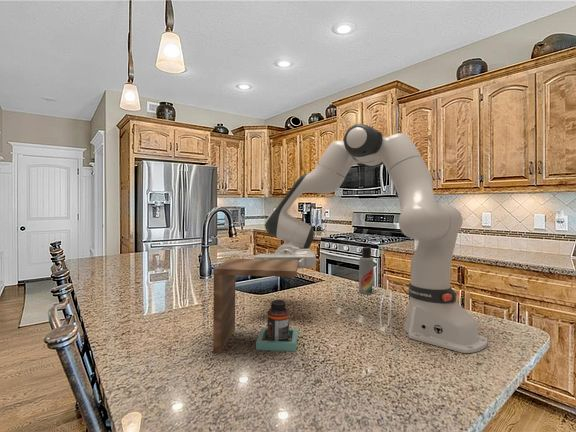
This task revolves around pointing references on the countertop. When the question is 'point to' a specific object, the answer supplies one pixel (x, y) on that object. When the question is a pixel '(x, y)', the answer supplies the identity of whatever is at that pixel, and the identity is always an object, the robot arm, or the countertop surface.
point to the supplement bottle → (278, 322)
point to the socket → (277, 342)
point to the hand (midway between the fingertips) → (283, 264)
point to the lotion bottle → (366, 272)
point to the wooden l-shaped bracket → (226, 290)
